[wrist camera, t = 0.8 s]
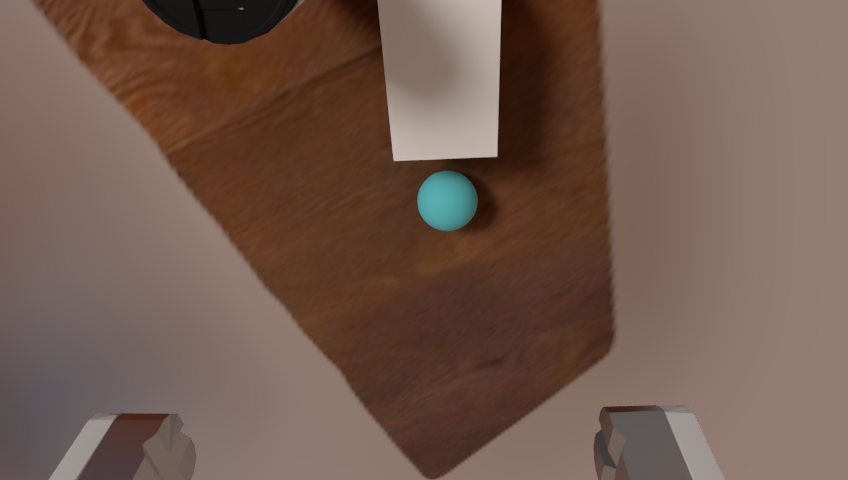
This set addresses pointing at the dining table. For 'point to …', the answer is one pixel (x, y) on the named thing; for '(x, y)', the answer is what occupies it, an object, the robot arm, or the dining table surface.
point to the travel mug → (223, 17)
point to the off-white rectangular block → (442, 77)
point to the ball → (447, 200)
